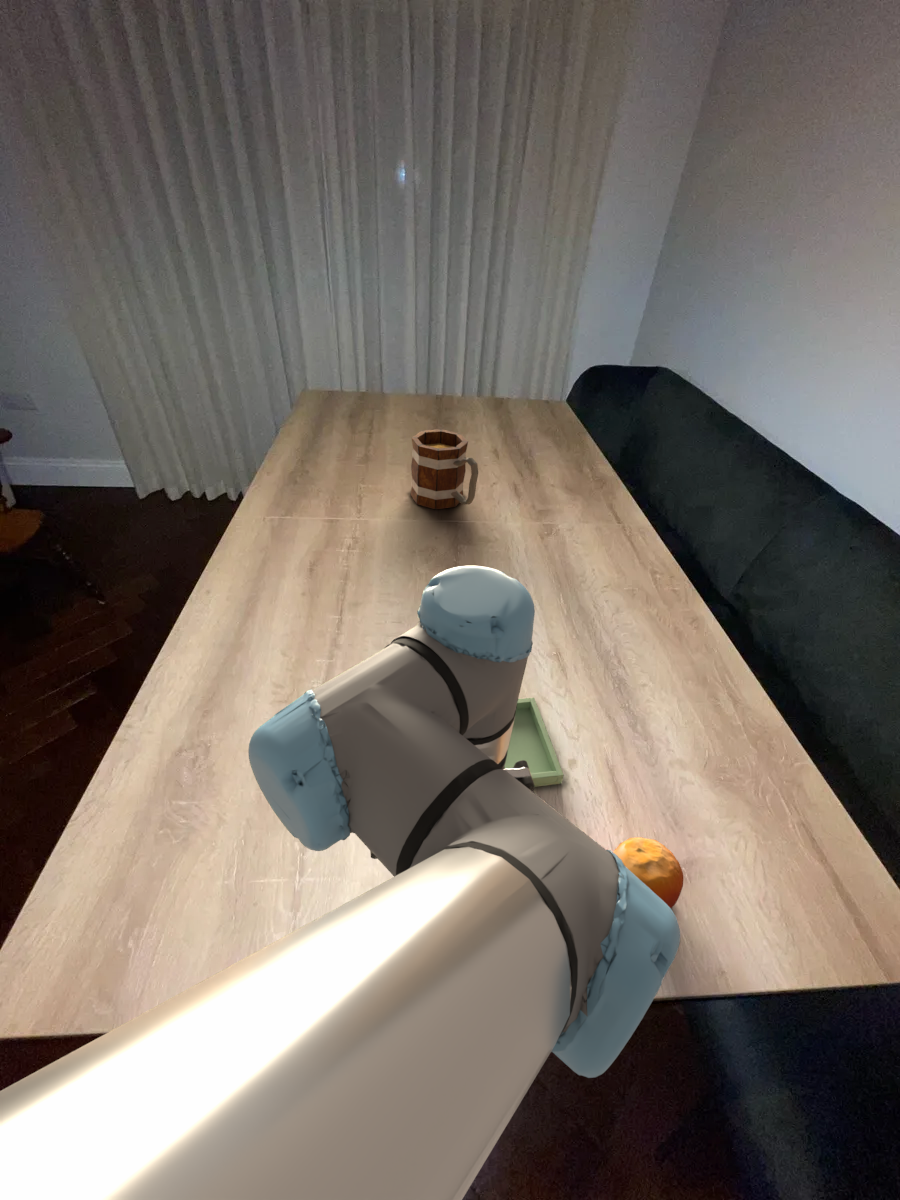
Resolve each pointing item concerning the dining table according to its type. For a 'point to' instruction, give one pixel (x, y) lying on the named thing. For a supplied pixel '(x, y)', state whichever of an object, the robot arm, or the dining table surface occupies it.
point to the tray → (533, 745)
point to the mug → (441, 469)
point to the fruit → (653, 867)
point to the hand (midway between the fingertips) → (446, 869)
